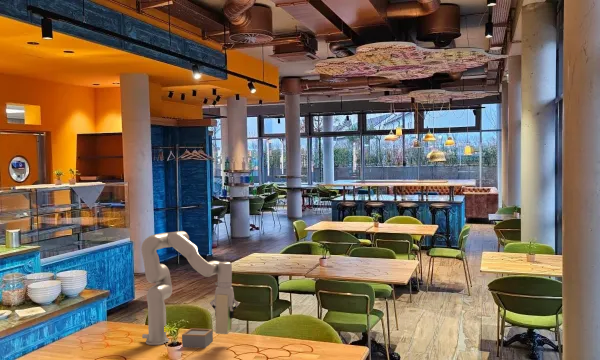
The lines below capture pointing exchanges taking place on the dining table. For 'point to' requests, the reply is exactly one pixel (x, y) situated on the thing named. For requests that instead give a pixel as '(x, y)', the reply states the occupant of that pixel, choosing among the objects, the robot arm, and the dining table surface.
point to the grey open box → (197, 338)
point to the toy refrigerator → (223, 315)
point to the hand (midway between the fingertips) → (224, 317)
